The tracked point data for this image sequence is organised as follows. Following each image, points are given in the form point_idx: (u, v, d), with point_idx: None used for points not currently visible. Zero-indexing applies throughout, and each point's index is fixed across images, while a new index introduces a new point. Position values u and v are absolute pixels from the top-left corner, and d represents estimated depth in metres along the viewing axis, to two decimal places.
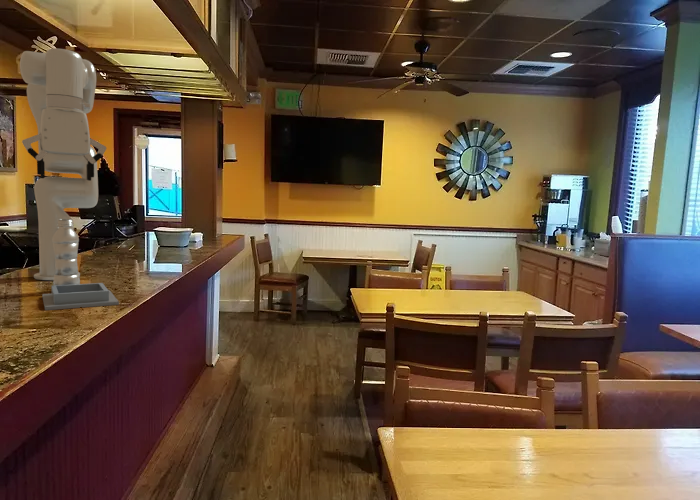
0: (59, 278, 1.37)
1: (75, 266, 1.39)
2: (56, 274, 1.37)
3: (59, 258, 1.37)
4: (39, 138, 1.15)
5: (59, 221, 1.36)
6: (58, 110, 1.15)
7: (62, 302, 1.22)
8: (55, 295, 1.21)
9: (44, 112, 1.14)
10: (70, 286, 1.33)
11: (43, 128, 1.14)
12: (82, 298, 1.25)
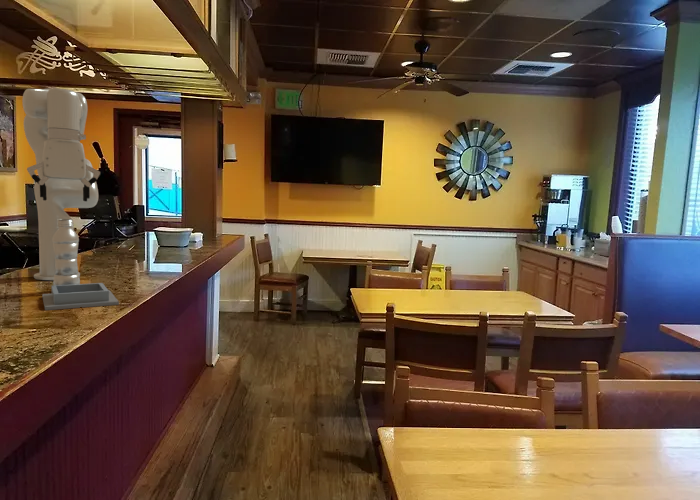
0: (59, 278, 1.37)
1: (75, 266, 1.39)
2: (56, 274, 1.37)
3: (59, 258, 1.37)
4: (41, 165, 1.33)
5: (59, 221, 1.36)
6: (58, 141, 1.33)
7: (62, 302, 1.22)
8: (55, 295, 1.21)
9: (46, 143, 1.32)
10: (70, 286, 1.33)
11: (45, 157, 1.32)
12: (82, 298, 1.25)
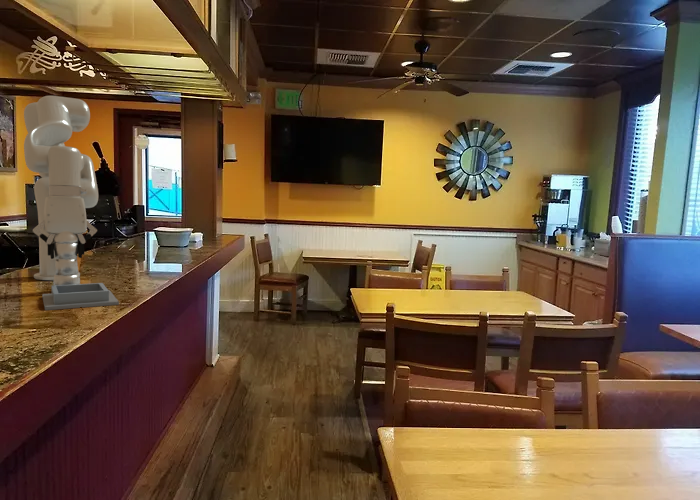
0: (59, 278, 1.37)
1: (75, 266, 1.39)
2: (56, 274, 1.37)
3: (60, 258, 1.37)
4: None
5: None
6: (59, 198, 1.35)
7: (62, 302, 1.22)
8: (55, 295, 1.21)
9: (47, 200, 1.34)
10: (70, 286, 1.33)
11: (46, 214, 1.34)
12: (82, 298, 1.25)
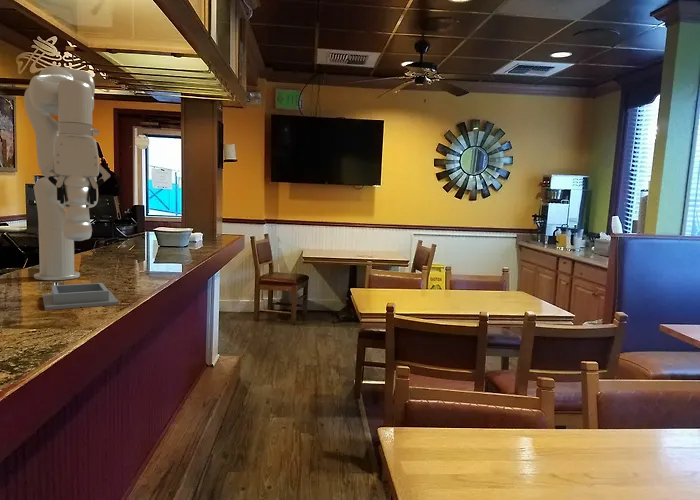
0: (70, 225, 1.25)
1: (87, 213, 1.28)
2: (66, 221, 1.26)
3: (70, 203, 1.25)
4: None
5: None
6: (69, 136, 1.23)
7: (62, 302, 1.22)
8: (55, 295, 1.21)
9: (56, 138, 1.23)
10: (70, 286, 1.33)
11: (56, 153, 1.23)
12: (82, 298, 1.25)
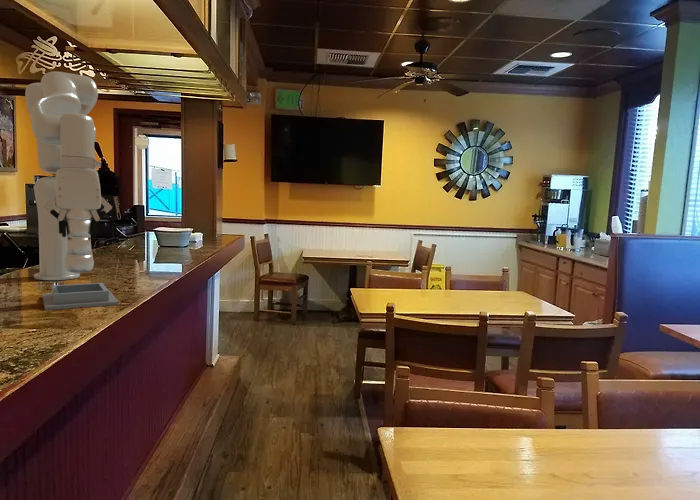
0: (72, 258, 1.25)
1: (89, 245, 1.28)
2: (68, 254, 1.26)
3: (72, 236, 1.25)
4: None
5: None
6: (71, 170, 1.23)
7: (62, 302, 1.22)
8: (55, 295, 1.21)
9: (58, 172, 1.23)
10: (70, 286, 1.33)
11: (58, 187, 1.22)
12: (82, 298, 1.25)
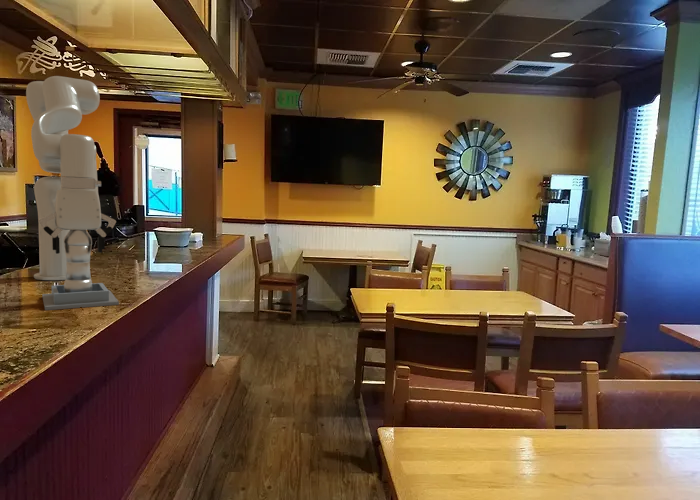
0: (70, 283, 1.26)
1: (88, 270, 1.29)
2: (67, 279, 1.27)
3: (71, 262, 1.26)
4: (54, 217, 1.24)
5: None
6: (72, 191, 1.24)
7: (62, 302, 1.22)
8: (55, 295, 1.21)
9: (59, 193, 1.23)
10: None
11: (58, 208, 1.23)
12: (82, 298, 1.25)
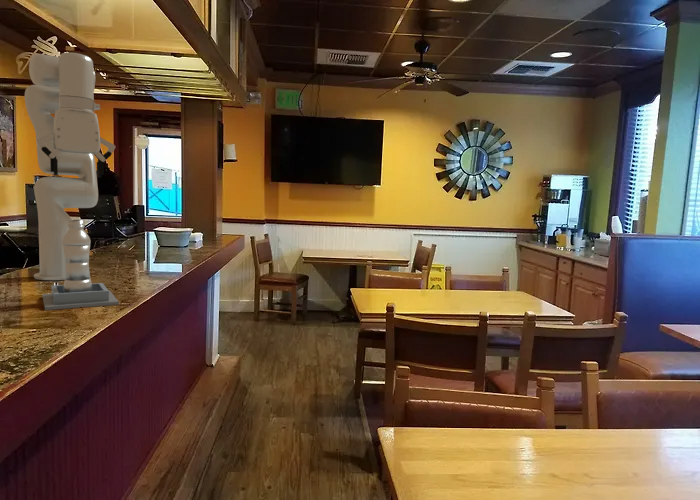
0: (70, 284, 1.26)
1: (87, 270, 1.29)
2: (66, 279, 1.27)
3: (70, 262, 1.26)
4: (52, 137, 1.22)
5: (69, 222, 1.26)
6: (70, 111, 1.22)
7: (62, 302, 1.22)
8: (55, 295, 1.21)
9: (57, 113, 1.21)
10: None
11: (56, 128, 1.21)
12: (82, 298, 1.25)
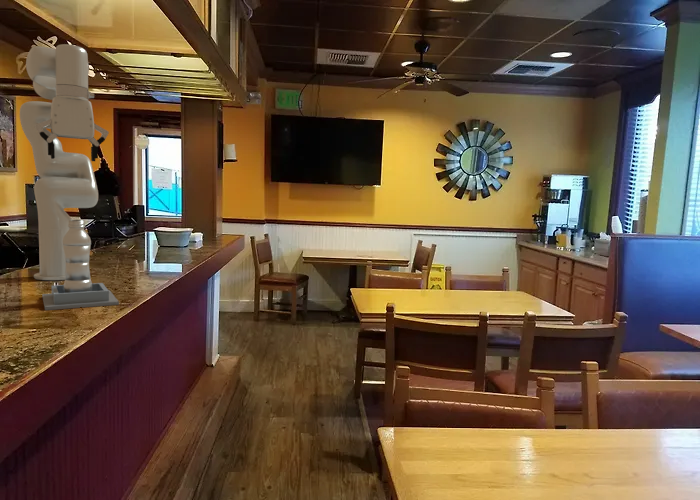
0: (70, 284, 1.26)
1: (87, 270, 1.29)
2: (67, 279, 1.27)
3: (70, 262, 1.26)
4: (50, 123, 1.31)
5: (70, 222, 1.26)
6: (66, 98, 1.31)
7: (62, 302, 1.22)
8: (55, 295, 1.21)
9: (54, 100, 1.30)
10: None
11: (53, 114, 1.30)
12: (82, 298, 1.25)
